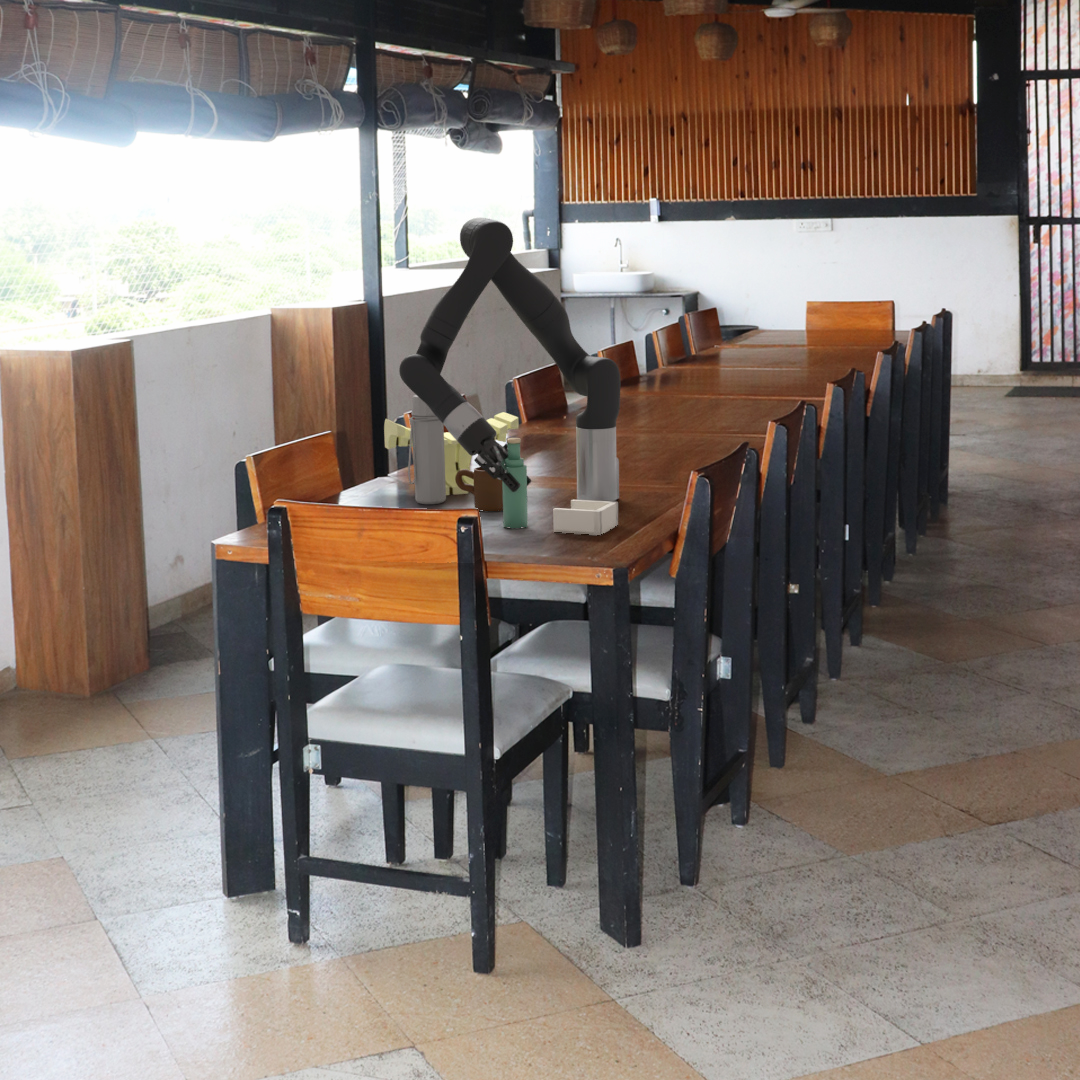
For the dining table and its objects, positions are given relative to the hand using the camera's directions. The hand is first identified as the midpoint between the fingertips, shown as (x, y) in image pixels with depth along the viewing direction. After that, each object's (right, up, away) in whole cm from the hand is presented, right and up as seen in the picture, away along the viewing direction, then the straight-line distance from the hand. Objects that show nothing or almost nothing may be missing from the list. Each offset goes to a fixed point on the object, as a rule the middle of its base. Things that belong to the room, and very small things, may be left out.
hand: (522, 486), depth 286 cm
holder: (+13, -9, -1) cm, 16 cm away
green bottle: (-2, -8, +3) cm, 9 cm away
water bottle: (-23, -3, +32) cm, 39 cm away
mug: (-10, -4, +23) cm, 25 cm away
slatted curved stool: (-18, +1, +50) cm, 53 cm away
